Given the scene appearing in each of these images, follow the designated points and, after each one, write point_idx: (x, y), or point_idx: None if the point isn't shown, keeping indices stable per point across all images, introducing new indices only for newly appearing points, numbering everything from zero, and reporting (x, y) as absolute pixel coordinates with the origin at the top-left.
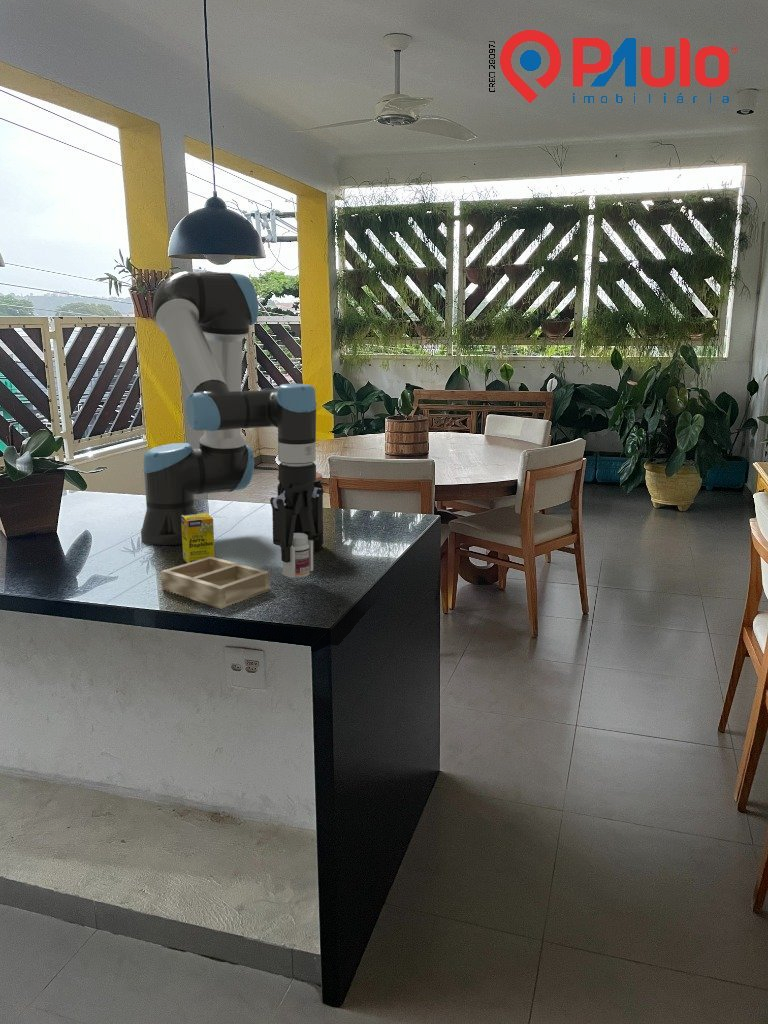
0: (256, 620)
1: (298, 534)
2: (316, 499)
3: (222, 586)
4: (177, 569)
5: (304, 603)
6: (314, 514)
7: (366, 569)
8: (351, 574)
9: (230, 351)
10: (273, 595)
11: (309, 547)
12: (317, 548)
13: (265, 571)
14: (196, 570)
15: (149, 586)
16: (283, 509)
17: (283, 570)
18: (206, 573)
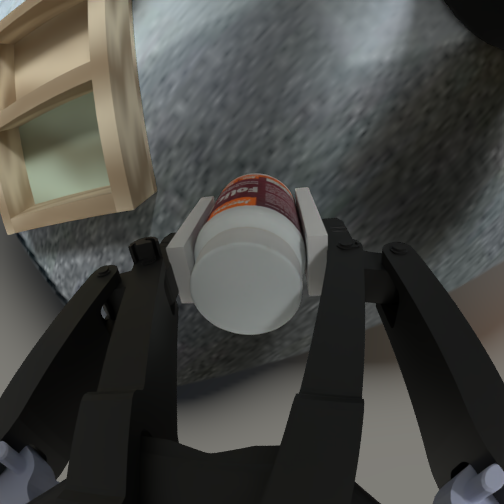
0: None
1: (263, 282)
2: (442, 475)
3: (12, 225)
4: (3, 30)
5: None
6: (414, 364)
7: (458, 251)
8: None
9: None
10: (147, 225)
11: (306, 271)
12: (497, 47)
13: (127, 196)
14: (58, 3)
15: (12, 10)
16: (54, 462)
17: (197, 204)
18: (13, 105)
